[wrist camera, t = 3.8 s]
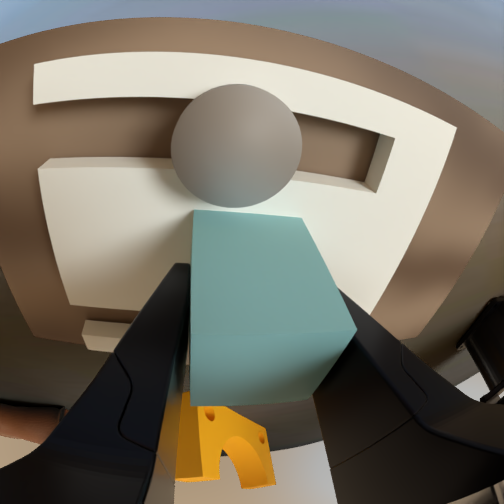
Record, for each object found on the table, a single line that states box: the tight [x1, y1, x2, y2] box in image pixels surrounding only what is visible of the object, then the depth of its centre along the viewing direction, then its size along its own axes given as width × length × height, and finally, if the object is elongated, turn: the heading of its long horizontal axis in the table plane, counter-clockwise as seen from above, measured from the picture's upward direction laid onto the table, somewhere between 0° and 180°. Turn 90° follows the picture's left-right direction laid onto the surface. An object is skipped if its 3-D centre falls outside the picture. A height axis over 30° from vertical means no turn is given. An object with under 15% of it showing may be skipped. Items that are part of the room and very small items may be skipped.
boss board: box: [0, 17, 504, 365], centre depth 10 cm, size 13×22×3 cm, turn 80°
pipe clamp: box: [175, 391, 276, 489], centre depth 19 cm, size 12×4×6 cm, turn 25°
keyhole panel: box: [33, 52, 457, 406], centre depth 8 cm, size 11×12×5 cm
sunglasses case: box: [0, 403, 68, 444], centre depth 20 cm, size 18×7×7 cm, turn 99°
